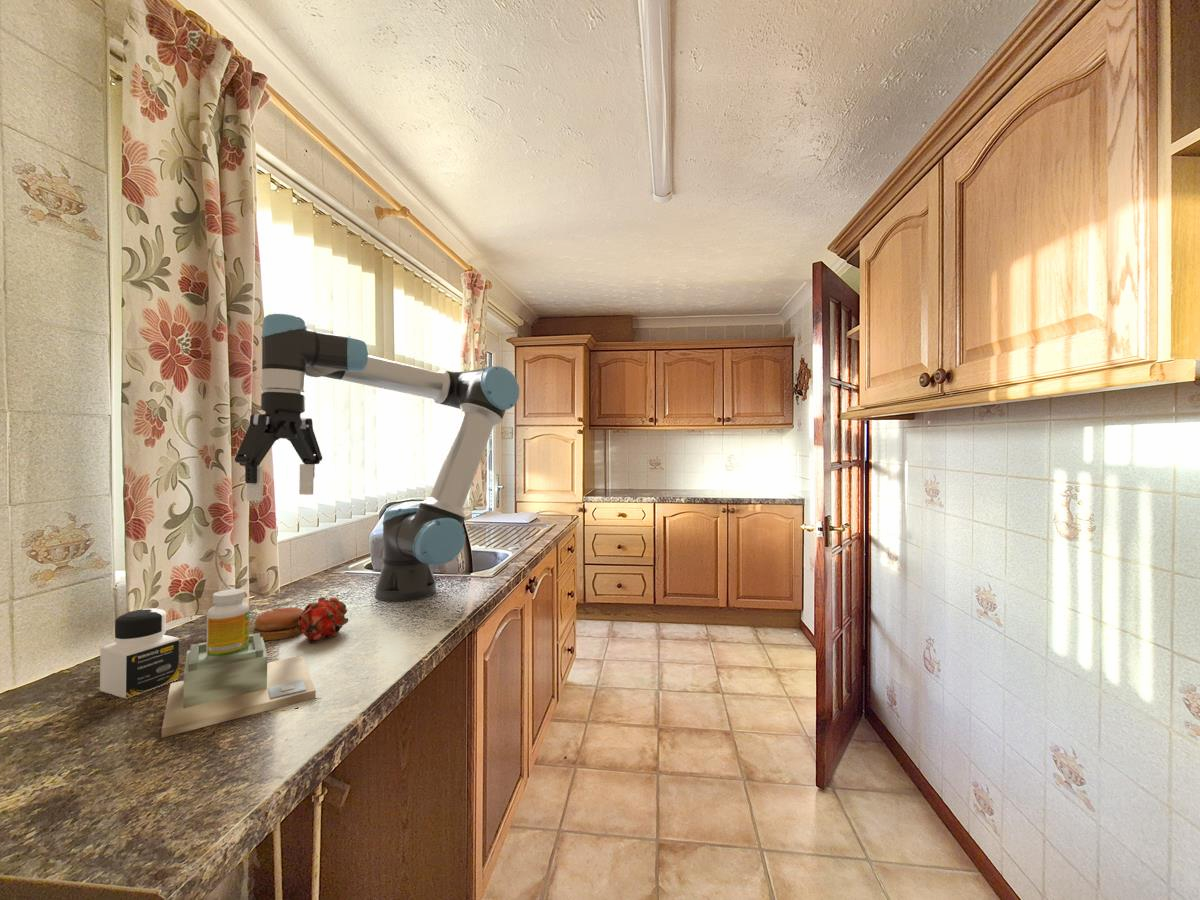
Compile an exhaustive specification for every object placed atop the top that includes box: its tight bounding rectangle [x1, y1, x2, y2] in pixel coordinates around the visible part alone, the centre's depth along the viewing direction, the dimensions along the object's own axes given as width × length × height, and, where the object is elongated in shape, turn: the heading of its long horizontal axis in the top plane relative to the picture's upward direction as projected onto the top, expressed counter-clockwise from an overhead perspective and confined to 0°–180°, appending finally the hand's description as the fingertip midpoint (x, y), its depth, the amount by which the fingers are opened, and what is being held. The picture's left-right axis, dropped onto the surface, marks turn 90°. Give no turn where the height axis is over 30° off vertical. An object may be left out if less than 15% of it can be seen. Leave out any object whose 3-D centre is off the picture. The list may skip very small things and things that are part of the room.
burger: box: [252, 607, 305, 641], centre depth 104 cm, size 10×9×5 cm
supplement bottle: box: [205, 588, 250, 658], centre depth 78 cm, size 5×5×10 cm
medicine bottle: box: [99, 607, 180, 700], centre depth 80 cm, size 7×7×12 cm
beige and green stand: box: [161, 633, 317, 739], centre depth 78 cm, size 18×16×7 cm
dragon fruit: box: [298, 596, 349, 644], centre depth 101 cm, size 8×8×12 cm
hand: (282, 497), depth 100 cm, fingers open, 13 cm apart
